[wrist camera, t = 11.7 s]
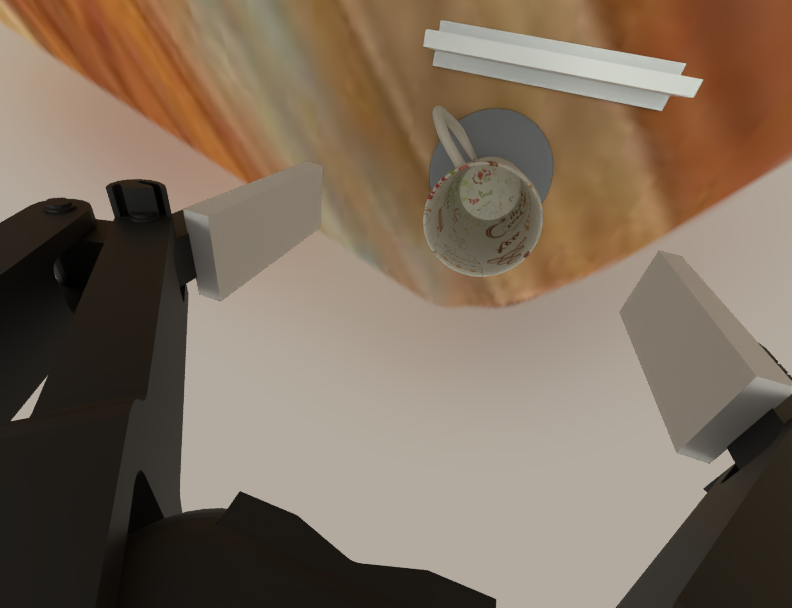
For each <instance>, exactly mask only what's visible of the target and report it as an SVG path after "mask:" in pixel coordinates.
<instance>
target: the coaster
mask: <svg viewBox="0 0 792 608" xmlns="http://www.w3.org/2000/svg"><path fill="white" fill-rule="evenodd" d="M458 122H459V123H460V125H461V126H462V127H463V129H464V130H465V132H466V134H467V136H468V139H469V141H470V143H471V145H472V147H473V149H474V152H475V154H476V157H477V159H480V158H483V157H488V156H497V157H502V158H505V159H507V160H509V161H510V162H512V163H513V164H514V165H515V166H516V167H517V168H518V169H519V170H520V171H521V172H522V173H523V174H524V175H525V176H526V177H527V178H528V179H529V180H530V181H531V182H532V184H533V185H534V187H535V189H536V190H537V192H538V194H539V197H540V200H541V203H542V202H543V201H544V199H545V197H546V195H547V193H548V191H549V188H550V185H551V181H552V176H553V157H552V153H551V149H550V146H549V143H548V141H547V139H546V137H545V136H544V134H543V132H542V131H541V130H540V128H539V127H538V126H537V125H536V124H535V123H534V122H533V121H532V120H530V119H529V118H527V117H526V116H524V115H522V114H520V113H518V112H515V111H511V110H507V109H485V110H481V111H477V112H474V113H472V114H470V115H467V116H465V117H464V118H462V119H461V120H459V121H458ZM448 131H449V133H450V136H451V138H452V140H453V142H454V143H455V145H456V147H457V149H458V151H459V152H460V154H461V156H462V158H463V159H464V161H465V163H468V162H471V161H472V160H471V159H470V158H469V156H468V155H467V153H466V152H465V150H464V148H463V147H462V145H461V144H460V142H459V141H458V139H457V138H456V136H455V135H454V133H453V132H452V130H451V129H449V130H448ZM453 169H455V166H454V164H453V162H452V161H451V159H450V157H449V155H448V154H447V152H446V150H445V148H444V146H443V144H442V143H441V141H439V143H438V145H437V146H436V149H435V151H434V154H433V156H432V160H431V164H430V175H429V179H430V188H431V191H432V189H433V188H434V187H435V185H436V184H437V183H438V182H439V181H440V179H441V178H443V177H444V176H445V175H446V174H447V173H449V172H450V171H452V170H453Z"/></svg>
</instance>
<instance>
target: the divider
mask: <svg viewBox="0 0 792 608" xmlns="http://www.w3.org/2000/svg"><path fill="white" fill-rule="evenodd" d="M423 46H424V47H427V48H429V49H432V50H434V51H435V54H434V60H433V66H438V67H443V68H448V69H453V70H458V71H463V72H468V73H473V74H478V75H483V76H488V77H493V78H498V79H503V80H508V81H513V82H518V83H523V84H528V85H533V86H538V87H543V88H548V89H553V90H558V91H563V92H569V93H574V94H579V95H584V96H589V97H594V98H599V99H604V100H609V101H614V102H619V103H624V104H629V105H634V106H639V107H644V108H649V109H654V110H659V111H662V110H663V108H664V106H665V104H666V102H667V100H668V98H669V96H677V97H689V98H694V96H695V94H696V92H697V90H698V88H699V87H700V85H701V83H702V81H703V79H698V78H692V77H687V76H681V73H682V71H683V69H684V67H685V65H686V64H685V63H680V62H674V61H668V60H663V59H657V58H651V57H646V56H640V55H635V54H629V53H623V52H618V51H612V50H607V49H601V48H595V47H590V46H584V45H579V44H573V43H567V42H562V41H556V40H551V39H545V38H539V37H534V36H528V35H523V34H517V33H511V32H506V31H500V30H494V29H489V28H483V27H478V26H472V25H466V24H461V23H455V22H450V21H444V20H441V22H440V27H439V31H436V30H430V29H426V32H425V38H424V44H423Z"/></svg>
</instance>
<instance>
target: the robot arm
mask: <svg viewBox="0 0 792 608" xmlns="http://www.w3.org/2000/svg"><path fill="white" fill-rule="evenodd" d="M322 167H323V166H322V165H318V164H314V163H310V162H306V161H305V162H303V163H300V164H298V165H295V166H293V167H290V168H287V169H285V170H282V171H280V172H277V173H274V174H272V175H269V176H267V177H264V178H262V179H259V180H256V181H254V182H251V183H249V184H246V185H243V186H241V187H238V188H236V189H233V190H231V191H228V192H225V193H223V194H220V195H218V196H215V197H212V198H210V199H207V200H205V201H202V202H200V203H197V204H195V205H192V206H189V207H187V208H184V209H183V210H181V211H178V212H175V213H173V214H171V209H170V205H169V200H168V195H167V190H166V187H165V185H164V184H162V183H160V182H156V181H152V180H142V179H134V180H122V181H117V182H114V183H111V184H109V185H107V186H106V190H107V193H108V197H109V200H110V203H111V206H112V210H113V213H114V216H115V219H114V221H107V220H98V219H95V216H94V213H93V210H92V207H91V205H90V204H89V203H88V202H85V201H83V200H76V199H66V198H52V199H48V200H46V201H42V202H38V203H36V204H33V205H30V206H29V207H27V208H25V209H24V210H22V211H20V212H18V213H16V214H15V215H13V216H11V217H9V218H8V219H6V220H4V221H3V222H1V223H0V608H496V599H494V598H492V597H490V596H487V595H485V594H483V593H480V592H478V591H476V590H473V589H471V588H468V587H466V586H464V585H461V584H459V583H457V582H454V581H452V580H449V579H447V578H445V577H442V576H440V575H437V574H435V573H432V572H430V571H428V570H419V569H409V568H400V567H391V566H381V565H371V564H362V563H357V562H354V561H352V560H350V559H349V558H347V557H346V556H345V555H344V554H342V553H341V552H340V551H339V550H338V549H336V548H335V547H334V546H333V545H332V544H331V543H329V542H328V541H327V540H326V539H324V538H323V537H322V536H321V535H320V534H319V533H318V532H316V531H315V530H314V529H313V528H312V527H310V526H309V525H308V524H307V523H306V522H304V521H303V520H302V519H301V518H300V517H299V516H297V515H295V514H293V513H290V512H288V511H286V510H283V509H281V508H279V507H276V506H273V505H271V504H269V503H267V502H264V501H262V500H259V499H257V498H255V497H252V496H250V495H248V494H245V493H243V492H241V491H240V492H239V493H238V495H237V496H236V497H235V499H234V500H233V502H232V503H231V505H230V506H229V508H228V509H224V508H215V509H201V510H195V511H188V512H184V513H182V508H181V501H180V470H181V445H182V423H183V403H184V380H185V357H186V335H187V313H188V290H187V285H186V283H188V282H189V281H191V280H193V279H195V278H196V280H197V286H198V291H199V294H200V295H203V296H206V297H209V298H212V299H215V300H218V301H222V300H223V299H225V298H226V297H227V296H228V295H230V294H231V293H233V292H234V291H235V290H237V289H238V288H239V287H241V286H242V285H243V284H245V283H246V282H247V281H249V280H250V279H251V278H253V277H254V276H256V275H257V274H258V273H260V272H261V271H262V270H264V269H265V268H266V267H268V266H269V265H270V264H272V263H273V262H275V261H276V260H277V259H279V258H280V257H281V256H283V255H284V254H285V253H287V252H288V251H289V250H291V249H292V248H293V247H295V246H296V245H298V244H299V243H300V242H301V241H303V240H304V239H305V238H307V237H308V236H309V235H311V234H312V233H314V232H315V231H316V230H318V229H319V228H320V219H321V193H322ZM55 276H56V277H55ZM56 278H57V279H56ZM620 315H621V317H622V320H623V322H624V324H625V327H626V329H627V332H628V334H629V337H630V339H631V342H632V344H633V347H634V349H635V352H636V354H637V356H638V359H639V361H640V364H641V366H642V369H643V371H644V374H645V376H646V379H647V381H648V384H649V386H650V388H651V391H652V393H653V396H654V398H655V401H656V403H657V406H658V408H659V411H660V413H661V416H662V418H663V420H664V423H665V425H666V427H667V430H668V433H669V435H670V438H671V440H672V443H673V445H674V447H675V450H676V452H677V453H679V454H682V455H685V456H688V457H691V458H694V459H697V460H700V461H703V462H706V463H709V464H710V463H711V462H712V461H713V460H715V459H716V458H717V457H718V456H719V455H721V454H722V453H723V452H724V451H725V450H726V449H728V451H729V452H730V454H731V456H732V458H733V460H734V461H735V464H734V465H732V466H731V467H730V468H729V469H727V470H726V471H725V472H724V473H723V474H721V475H720V476H719V477H717V478H716V479H715V480H714V481H712V482H711V483H710V484H709V485H707V486H706V487H705V488H704V490H705V491H706V492H707V494H706V495H705V496H704V498H703V499H702V500H701V502H700V503H699V504H698V505H697V507H696V508H695V509H694V510H693V512H692V513H691V514H690V516H689V517H688V518H687V519H686V520H685V522H684V523H683V524H682V525H681V527H680V528H679V529H678V530H677V532H676V533H675V534H674V535H673V537H672V538H671V539H670V540H669V542H668V543H667V544H666V545H665V547H664V548H663V549H662V550H661V552H660V553H659V554H658V555H657V557H656V558H655V559H654V560H653V562H652V563H651V564H650V565H649V567H648V568H647V569H646V570H645V572H644V573H643V574H642V576H641V577H640V578H639V579H638V580H637V582H636V583H635V584H634V586H633V587H632V588H631V589H630V591H629V592H628V593H627V594H626V595H625V597H624V598H623V599H622V600H621V602H620V603H619V604H618V605H617V607H616V608H792V377H791V376H790V375H787V373H788V372H787V371H786V370H785V369H784V368H783V367H782V366H781V365H780V364H777V363H778V361H777V360H776V359H775V358H774V357H773V355H771V353H770V352H769V351H768V350H767V349H766V348H765V347H763V346H762V345H761V344H759V343H758V342H757V341H756V340H755V339H754V338H753V337H752V335H751V334H750V333H749V332H748V331H747V330H746V329H745V328H744V326H743V325H742V324H741V323H740V322H739V321H738V320H737V318H736V317H735V316H734V315H733V314H732V313H731V312H730V311H729V309H728V308H727V307H726V306H725V305H724V304H723V303H722V301H721V300H720V299H719V298H718V297H717V296H716V295H715V293H714V292H713V291H712V290H711V289H710V288H709V287H708V286H707V284H706V283H705V282H704V281H703V280H702V279H701V278H700V277H699V275H698V274H697V273H696V272H695V271H694V270H693V268H692V267H691V266H690V265H689V264H688V263H687V262H686V261H685V259H684V258H683V257H682V256H679V255H675V254H670V253H667V252H663V251H658V253H657V254H656V256H655V257H654V259H653V260H652V262H651V264H650V265H649V267H648V268H647V270H646V272H645V273H644V274H643V276H642V278H641V279H640V281H639V282H638V284H637V285H636V287H635V288H634V290H633V292H632V293H631V295H630V296H629V298H628V299H627V301H626V303H625V304H624V306H623V307H622V309H621V310H620ZM47 375H48V377H47ZM46 377H47V379H46V382H45V384H44V386H43V389H42V391H41V393H40V396H39V398H38V401H37V403H36V405H35V407H34V410H33V412H32V414H31V416H30V417H29V418H26V419H21V420H16V421H11V419H12V418H13V417H14V416H15V415H16V414H17V412H18V411H19V410H20V409H21V407H22V406H23V404H25V402H26V401H27V400H28V399H29V398H30V396H31V395H32V394H33V393H34V391H35V390H36V389H37V387H39V385H40V384H41V383H42V381H43V380H44V379H45V378H46Z"/></svg>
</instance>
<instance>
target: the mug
mask: <svg viewBox="0 0 792 608" xmlns="http://www.w3.org/2000/svg"><path fill="white" fill-rule="evenodd" d="M432 116H433V121H434V125H435V128H436V131H437V134H438V136H439V138H440V141H441V143H442V144H443V146H444V148H445V150H446V152H447V154H448V155H449V157H450V159H451V161H452V162H453V164H454V166H455V169H453V170H452V171H450V172H449V173H447V174H446V175H445V176H444V177H443V178H441V179H440V181H439V182H438V183H437V184H436V185H435V187H434V188H433V189H432V191H431V193H430V194H429V197H428V199H427V201H426V204H425V208H424V214H423V228H424V234H425V237H426V240H427V243H428V245H429V247H430V249H431V250H432V252H433V253H434V254H435V256H436V257H437V258H438V259H439V260H440V261H441V262H442V263H443V264H445V265H446V266H447V267H449V268H451V269H452V270H454V271H457V272H459V273H462V274H465V275H469V276H477V277H486V276H494V275H498V274H501V273H504V272H506V271H509V270H511V269H512V268H514V267H516V266H517V265H519V264H520V263H521V262H522V261H524V260H525V259H526V258H527V257H528V256H529V254H530V253H531V252H532V250H533V249H534V247H535V246H536V244H537V242H538V240H539V237H540V234H541V231H542V226H543V208H542V203H541V200H540V197H539V194H538V192H537V190H536V189H535V187H534V185H533V184H532V182H531V181H530V180H529V179H528V178H527V177H526V176H525V175H524V174H523V173H522V172H521V171H520V170H519V169H518V168H517V167H516V166H515V165H514V164H513V163H512V162H510V161H509V160H507V159H505V158H502V157H497V156H488V157H483V158H480V159H477V157H476V154H475V152H474V149H473V147H472V145H471V143H470V141H469V139H468V136H467V134H466V132H465V130H464V129H463V127H462V126H461V125H460V123H459V122H458V121H457V120H456V119H455V118H454V117H453V116H452V115H451V114H450V113H449V112H448V111H447V110H446V109H445V108H443V107H442V106H439V105H437V106H435V107H434V108H433V113H432ZM447 126H448V127H449V128H450V129H451V130H452V132H453V133H454V135H455V136H456V138H457V139H458V141H459V142H460V144H461V145H462V147H463V148H464V150H465V152H466V153H467V155H468V156H469V158H470V159H471V160H472V161H471V162H468V163H465V161H464V159H463V158H462V156H461V154H460V152H459V151H458V149H457V147H456V145H455V143H454V142H453V140H452V138H451V136H450V133H449V131H448V128H447Z"/></svg>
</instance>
